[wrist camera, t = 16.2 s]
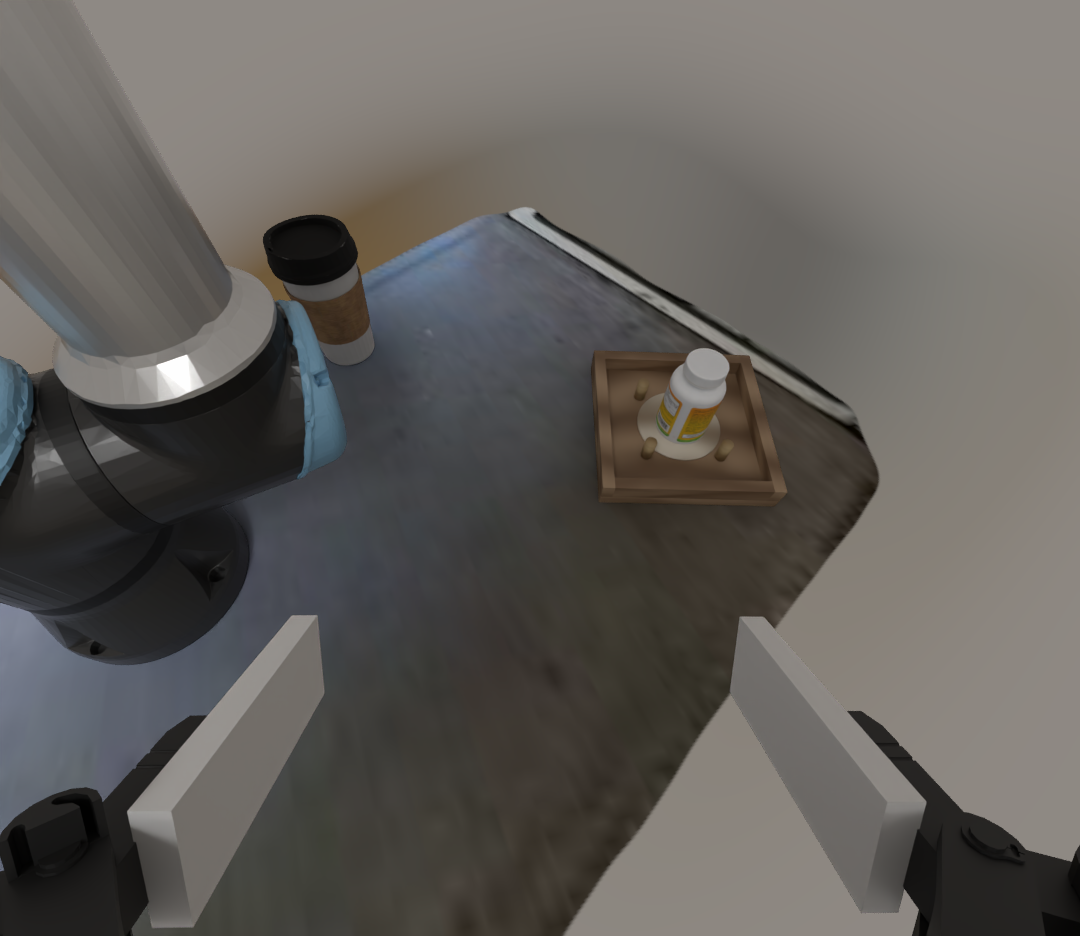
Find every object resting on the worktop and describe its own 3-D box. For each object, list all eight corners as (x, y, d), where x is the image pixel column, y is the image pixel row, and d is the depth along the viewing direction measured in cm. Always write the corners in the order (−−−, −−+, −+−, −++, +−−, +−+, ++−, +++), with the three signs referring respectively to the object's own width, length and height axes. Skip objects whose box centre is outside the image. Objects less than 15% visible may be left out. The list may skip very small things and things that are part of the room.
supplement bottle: (711, 418, 55) (745, 356, 47) (693, 454, 53) (726, 394, 45) (666, 398, 57) (691, 334, 48) (646, 432, 54) (670, 370, 46)
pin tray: (774, 506, 52) (790, 489, 49) (598, 502, 51) (604, 484, 48) (739, 373, 61) (751, 351, 58) (590, 368, 61) (594, 346, 57)
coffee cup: (299, 347, 61) (240, 232, 48) (357, 312, 64) (317, 197, 51) (341, 385, 58) (290, 274, 45) (399, 347, 61) (368, 234, 48)
